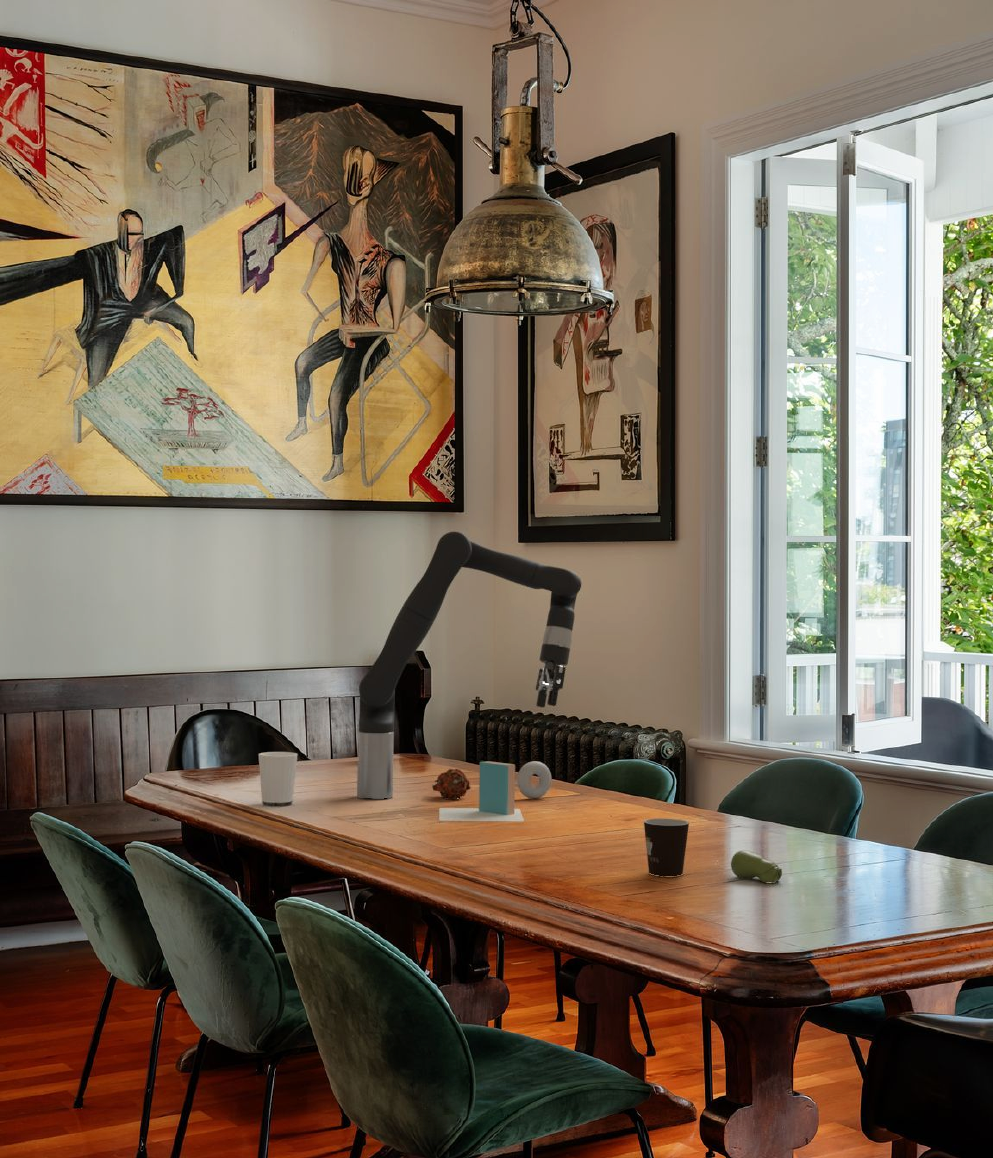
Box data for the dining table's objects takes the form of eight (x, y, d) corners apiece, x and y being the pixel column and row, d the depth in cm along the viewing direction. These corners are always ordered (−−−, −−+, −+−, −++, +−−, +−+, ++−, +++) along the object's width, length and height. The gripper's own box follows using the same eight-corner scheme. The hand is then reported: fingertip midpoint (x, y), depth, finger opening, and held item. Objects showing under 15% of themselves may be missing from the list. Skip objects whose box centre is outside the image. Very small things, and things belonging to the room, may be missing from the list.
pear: (742, 845, 262) (789, 860, 256) (738, 871, 263) (784, 887, 257) (728, 848, 258) (774, 864, 252) (723, 875, 259) (770, 892, 252)
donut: (547, 797, 365) (548, 759, 365) (553, 798, 362) (554, 761, 362) (514, 798, 360) (514, 761, 360) (520, 800, 357) (520, 762, 357)
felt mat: (439, 822, 320) (439, 820, 320) (439, 809, 339) (439, 807, 340) (524, 822, 320) (524, 821, 320) (519, 810, 340) (519, 808, 340)
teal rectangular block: (487, 809, 338) (488, 761, 338) (514, 813, 332) (514, 764, 332) (479, 810, 335) (479, 762, 336) (505, 815, 329) (506, 765, 330)
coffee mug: (687, 879, 256) (688, 826, 256) (641, 877, 258) (642, 824, 258) (689, 868, 268) (690, 817, 268) (645, 865, 269) (646, 815, 269)
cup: (293, 807, 340) (294, 756, 340) (254, 806, 339) (255, 755, 340) (299, 801, 349) (300, 752, 350) (261, 801, 349) (261, 751, 350)
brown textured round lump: (463, 807, 354) (438, 808, 364) (483, 786, 359) (458, 787, 368) (445, 782, 352) (420, 783, 362) (466, 761, 357) (441, 763, 366)
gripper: (534, 645, 365) (523, 704, 362) (552, 640, 351) (541, 701, 348) (559, 651, 367) (549, 710, 364) (579, 646, 353) (568, 707, 350)
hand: (545, 706), depth 356 cm, fingers open, 8 cm apart
